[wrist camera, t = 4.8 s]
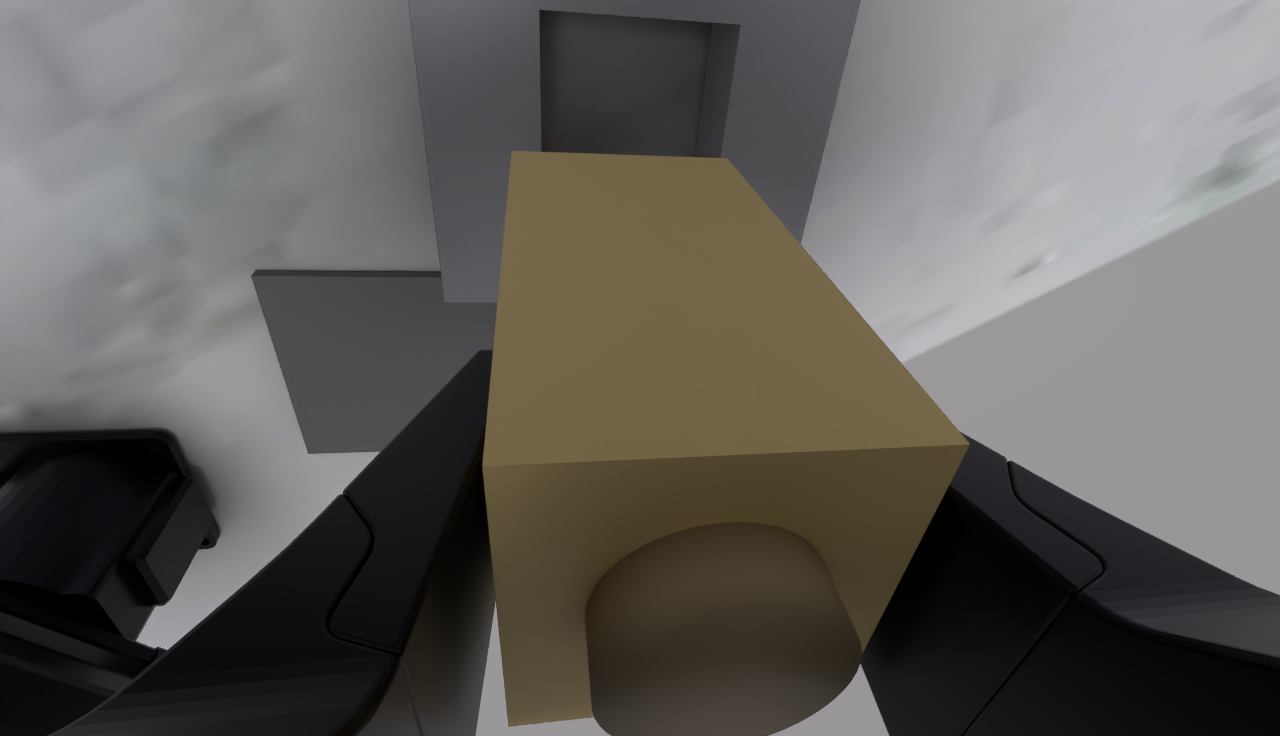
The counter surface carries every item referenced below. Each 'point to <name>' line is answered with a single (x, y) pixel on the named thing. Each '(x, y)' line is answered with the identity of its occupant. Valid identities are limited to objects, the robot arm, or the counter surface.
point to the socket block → (511, 106)
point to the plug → (689, 455)
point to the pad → (366, 349)
